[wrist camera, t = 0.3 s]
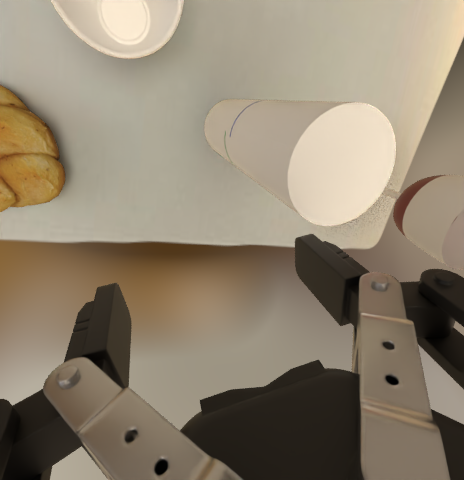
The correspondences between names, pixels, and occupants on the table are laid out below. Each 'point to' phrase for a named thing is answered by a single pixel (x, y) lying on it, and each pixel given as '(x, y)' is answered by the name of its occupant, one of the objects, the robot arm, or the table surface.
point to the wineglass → (433, 217)
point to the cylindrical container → (308, 152)
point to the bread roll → (26, 156)
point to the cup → (122, 24)
